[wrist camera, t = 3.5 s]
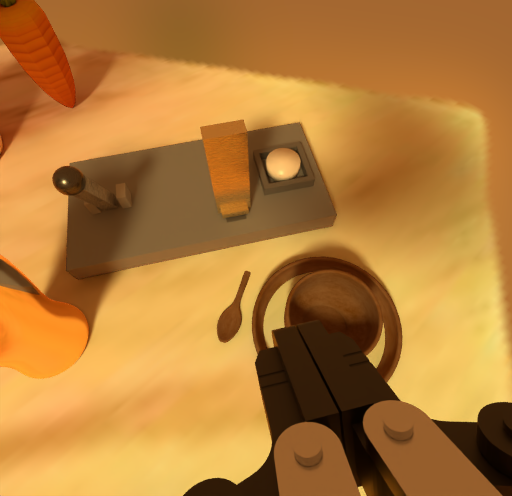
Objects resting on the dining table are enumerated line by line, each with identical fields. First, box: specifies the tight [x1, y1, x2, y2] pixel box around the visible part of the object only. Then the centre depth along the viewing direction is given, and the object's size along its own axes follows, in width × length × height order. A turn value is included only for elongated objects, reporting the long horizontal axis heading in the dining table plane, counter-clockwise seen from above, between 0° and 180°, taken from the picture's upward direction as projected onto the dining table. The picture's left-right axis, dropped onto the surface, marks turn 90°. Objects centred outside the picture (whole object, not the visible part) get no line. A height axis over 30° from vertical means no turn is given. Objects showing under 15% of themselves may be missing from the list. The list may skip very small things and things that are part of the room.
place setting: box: [217, 257, 402, 383], centre depth 23 cm, size 18×20×6 cm
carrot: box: [0, 0, 75, 108], centre depth 33 cm, size 5×5×15 cm
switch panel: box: [66, 122, 337, 279], centre depth 32 cm, size 24×12×4 cm, turn 103°
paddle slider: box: [200, 120, 251, 219], centre depth 26 cm, size 3×2×9 cm
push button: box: [266, 148, 301, 182], centre depth 31 cm, size 3×3×1 cm
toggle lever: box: [53, 166, 118, 210], centre depth 26 cm, size 2×2×9 cm
